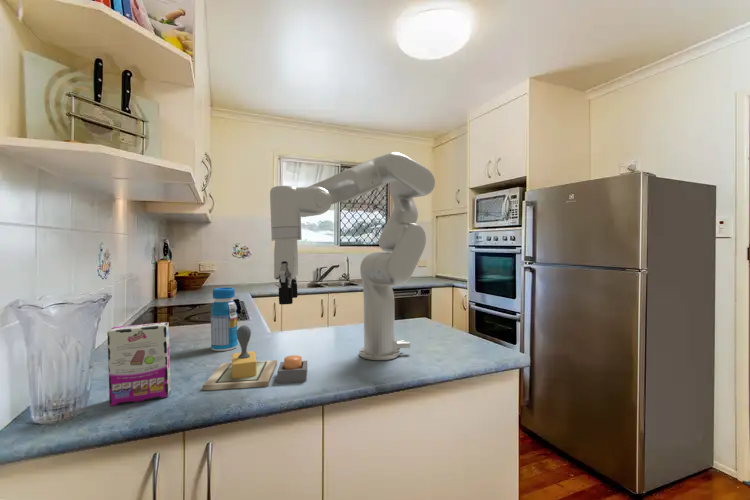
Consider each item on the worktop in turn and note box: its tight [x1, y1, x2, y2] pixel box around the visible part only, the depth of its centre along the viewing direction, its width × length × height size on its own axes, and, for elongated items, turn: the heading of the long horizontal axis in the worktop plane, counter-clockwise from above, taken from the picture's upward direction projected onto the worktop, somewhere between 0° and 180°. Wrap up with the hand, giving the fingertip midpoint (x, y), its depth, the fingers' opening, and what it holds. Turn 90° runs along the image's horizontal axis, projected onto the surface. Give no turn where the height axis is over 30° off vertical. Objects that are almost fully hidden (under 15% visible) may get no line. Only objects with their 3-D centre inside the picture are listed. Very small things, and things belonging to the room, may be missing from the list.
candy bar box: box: [106, 321, 172, 407], centre depth 80 cm, size 11×5×16 cm, turn 114°
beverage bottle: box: [209, 287, 239, 352], centre depth 119 cm, size 8×8×20 cm
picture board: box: [202, 359, 278, 391], centre depth 93 cm, size 15×16×1 cm
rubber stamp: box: [231, 324, 257, 379], centre depth 93 cm, size 10×6×12 cm, turn 21°
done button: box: [283, 354, 303, 369], centre depth 92 cm, size 4×4×4 cm
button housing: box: [276, 360, 308, 384], centre depth 92 cm, size 7×7×3 cm
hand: (288, 300), depth 92 cm, fingers open, 9 cm apart
